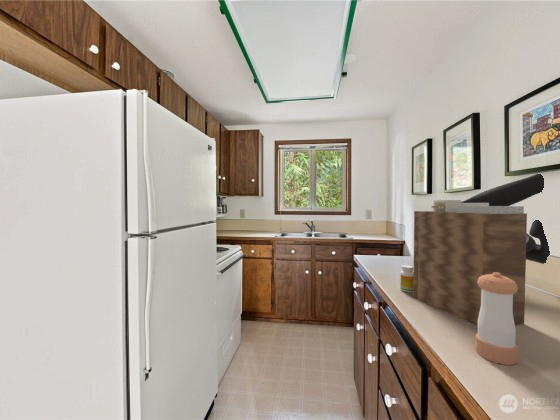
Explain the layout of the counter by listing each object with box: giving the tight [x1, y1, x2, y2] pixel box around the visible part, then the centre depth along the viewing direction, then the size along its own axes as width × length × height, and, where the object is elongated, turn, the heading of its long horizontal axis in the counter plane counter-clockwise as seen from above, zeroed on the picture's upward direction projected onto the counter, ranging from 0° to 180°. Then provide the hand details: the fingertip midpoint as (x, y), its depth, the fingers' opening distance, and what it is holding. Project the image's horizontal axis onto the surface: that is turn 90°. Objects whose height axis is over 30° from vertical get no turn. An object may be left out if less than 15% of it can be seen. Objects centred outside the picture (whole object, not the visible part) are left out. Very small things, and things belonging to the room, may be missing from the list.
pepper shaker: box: [474, 272, 518, 366], centre depth 57 cm, size 7×7×19 cm
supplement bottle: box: [399, 264, 414, 294], centre depth 99 cm, size 5×5×10 cm
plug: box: [431, 199, 489, 212], centre depth 87 cm, size 5×22×4 cm, turn 106°
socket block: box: [456, 205, 525, 214], centre depth 75 cm, size 11×12×2 cm
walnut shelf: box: [412, 210, 528, 327], centre depth 82 cm, size 26×14×32 cm, turn 16°
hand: (484, 212), depth 90 cm, fingers open, 8 cm apart
